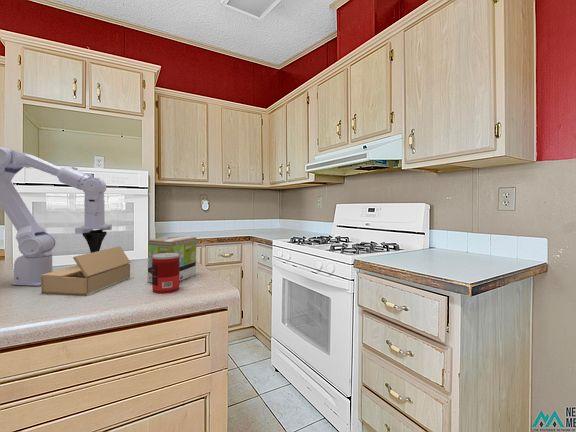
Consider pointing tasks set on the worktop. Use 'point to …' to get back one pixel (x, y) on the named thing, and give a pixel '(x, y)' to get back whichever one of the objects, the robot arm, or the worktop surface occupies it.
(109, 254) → the flap
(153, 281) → the canned food
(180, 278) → the tea box
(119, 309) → the worktop surface
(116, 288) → the worktop surface
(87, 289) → the carton
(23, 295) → the worktop surface
